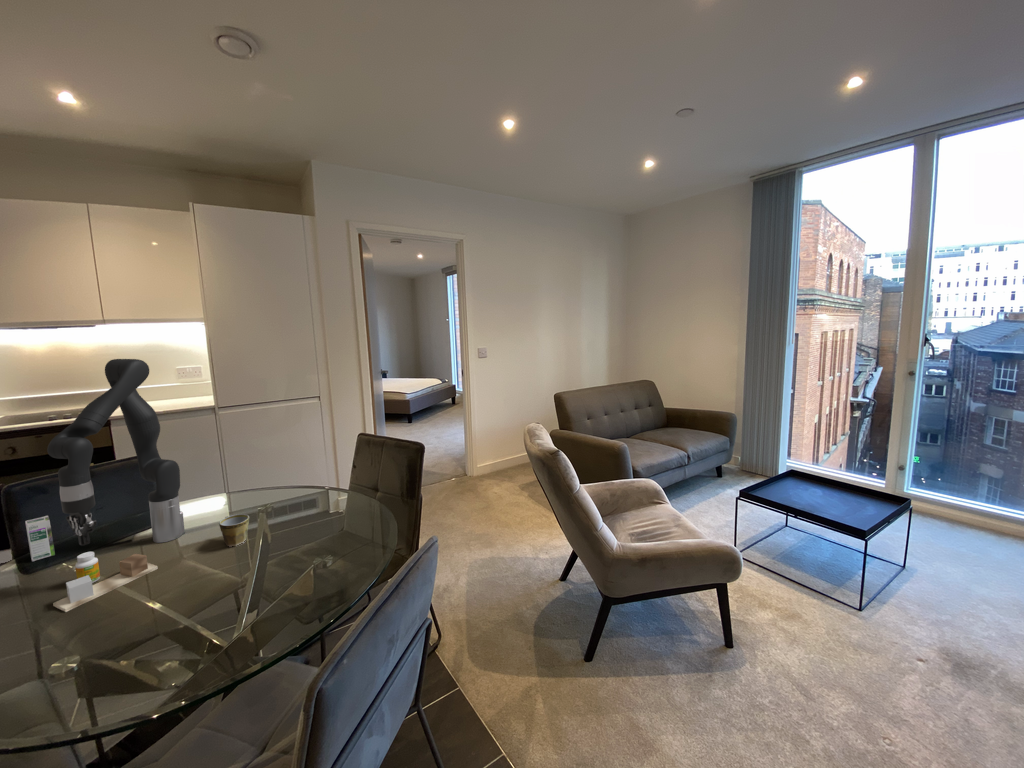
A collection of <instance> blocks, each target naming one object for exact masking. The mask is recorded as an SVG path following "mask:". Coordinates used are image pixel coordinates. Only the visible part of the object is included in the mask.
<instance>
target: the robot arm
mask: <svg viewBox="0 0 1024 768" xmlns="http://www.w3.org/2000/svg"><path fill="white" fill-rule="evenodd" d="M104 375H105V377H106V380H107V382H108V384H109V386H110V388H109V389H108V390H107V391H105V392H104V393H103V394H100V395H98V396H97V397H96V398H95V399H94V400H93V399H92V401H91V402H89V403H88V404H87V405H86V406H85V407H84V408H82V411H80V413H79V414H78V415H77V416H76V418H75V419H74V420H73V422H72V423H71V424H69V425H68V426H67V427H65V428H64V429H62V431H60V432H59V433H57V435H55V436H54V437H53V438H52V439H51V440H50V442H49V443H48V445H47V450H46V451H47V454H48V455H49V457H51V458H54V459H57V460H58V459H59V460H61V459H62V460H67V461H68V463H67V465H65V466H62V467H60V468H59V469H58V472H57V477H58V482H59V497H60V505H61V509H62V513H64V514H65V515H68V516H66V517H65V520H66V521H67V523H68V524H69V527H70V528H71V531H72V532H73V533H75V534H76V536H77V539H78V545H79V546H83V547H85V546H86V545H89V544H90V543H91V538H90V533H93V532H94V530H95V528H96V525H97V522H98V521H97V520H96V519H93V520H92V516H93V514H92V512H91V511H90V510H91V509H93V508H95V506H96V499H95V493H94V485H93V482H92V478H91V472H90V471H91V470H90V467H91V463H92V458H93V454H94V446H93V444H92V442H91V441H90V439H88V438H86V437H88V436H92V435H96V434H98V433H99V432H100V431H101V430H102V428H103V427H104V426H105V424H106V423H107V422H108V420H109V419H110V417H111V416H112V415H113V414H114V413H115V411H116V410H117V409H118V408H120V411H121V413H122V416H123V419H124V422H125V426H126V428H127V431H128V435H130V439H131V441H132V446H133V447H134V450H135V454H136V459H137V466H138V469H139V470H138V471H139V474H140V476H141V478H142V479H143V480H144V481H145V482H146V481H147V482H150V483H155V489H154V490H153V491H150V492H149V493H148V495H147V496H148V498H147V499H148V504H149V514H150V516H149V517H150V525H151V534H152V535H151V536H152V541H153V543H167V542H171V541H174V540H175V539H177V538H180V537H182V535H184V534H185V533H186V531H185V521H184V512H183V511H181V508H180V507H181V505H180V497H179V491H180V488H181V471H180V466H179V464H178V462H176V461H175V460H173V459H165V458H164V459H163V458H161V455H160V454H159V450H158V448H157V446H158V445H157V443H158V439H159V437H160V432H161V424H160V421H159V418H158V414H157V413H156V411H155V409H154V408H153V407H152V406H151V405H150V404H149V403H148V402H147V401H146V400H145V399H144V398H143V397H142V396H141V395H140V393H139V392H138V390H137V389H138V388H139V387H140V386H141V385H142V384H144V382H145V381H146V380H147V378H148V377H149V375H150V366H149V365H148V363H147V362H146V361H144V360H141V359H137V358H114V359H110V360H109V361H107V363H106V364H105V366H104Z"/></svg>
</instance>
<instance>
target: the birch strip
mask: <svg viewBox="0 0 1024 768" xmlns="http://www.w3.org/2000/svg"><path fill="white" fill-rule="evenodd" d="M147 565H148V569H146V570H144V571H142V572H141V573H139V574H137V575H135V576H133V577H130V576H124V575H121V573H117V574H115V575H113V576H110V577H108V578H105V579H104V580H102V581H100V582H97V583H95V584H92V586H93V593H94V595H93V596H90V597H87V598H85V599H82V600H79V601H77V602H74V603H70V600H69V598H68V596H66V597H63V598H62V599H61V598H60V600H57V601H54V602H53V603H52V604H53V605H52V606H53V607H55V608H57V609H59V610H61V611H62V612H65V613H67V612H69V611H71V610H74V609H76V608H77V607H79V606H81V605H82V606H83V604H86V603H88V602H90V601H92V600H95V599H97V598H98V597H101V596H103V595H105V594H107V593H110V592H111V591H113V590H116V589H118V588H120V587H122V586H124V585H126V584H128V583H131V582H132V581H134V580H137V579H140V578H141V577H143V576H146V575H147V574H148V575H149V574H150V573H152V572H154V571H156V570H158V565H156V564H153V563H150V562H147Z"/></svg>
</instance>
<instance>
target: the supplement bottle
mask: <svg viewBox="0 0 1024 768" xmlns="http://www.w3.org/2000/svg"><path fill="white" fill-rule="evenodd" d="M76 559H77V560H76V561H77V562H76V563H75V566H74V567H75V574H76V579H78V578H81V577H84V576H87V575H89V577H90V578H91V580H92V584H94V583H95V582H97V581H99V580H100V579H101V574H100V573H101V572H100V566H99V559H98V557H95V552H94V551H87V552H83V553H81V554H79V555H77V556H76Z"/></svg>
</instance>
